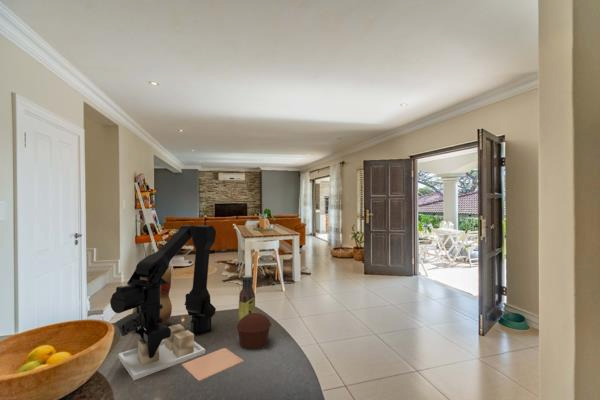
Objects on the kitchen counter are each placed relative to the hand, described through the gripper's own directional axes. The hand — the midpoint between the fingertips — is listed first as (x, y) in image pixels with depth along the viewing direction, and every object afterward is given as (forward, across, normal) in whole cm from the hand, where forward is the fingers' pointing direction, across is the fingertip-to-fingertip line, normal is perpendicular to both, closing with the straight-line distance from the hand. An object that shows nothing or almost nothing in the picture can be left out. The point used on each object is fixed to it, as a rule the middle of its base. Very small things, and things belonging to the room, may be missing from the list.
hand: (148, 354), depth 84 cm
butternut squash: (+2, -25, +9) cm, 27 cm away
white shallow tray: (+2, 0, +4) cm, 5 cm away
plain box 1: (+2, -4, +9) cm, 10 cm away
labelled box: (+2, 0, 0) cm, 2 cm away
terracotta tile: (+2, +15, +13) cm, 20 cm away
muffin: (+2, +13, +29) cm, 32 cm away
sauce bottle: (+2, 0, +35) cm, 35 cm away
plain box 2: (+2, +4, +9) cm, 10 cm away
